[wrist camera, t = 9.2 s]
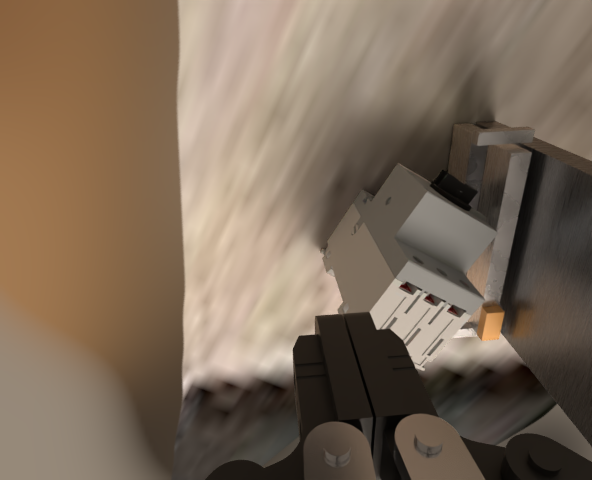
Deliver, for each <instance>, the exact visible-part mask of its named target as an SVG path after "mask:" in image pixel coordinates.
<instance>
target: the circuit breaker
mask: <svg viewBox="0 0 592 480" xmlns="http://www.w3.org/2000/svg"><path fill="white" fill-rule="evenodd" d="M477 193H478V191H477V190H475V189H474V188H472V187H471V186H469V185H467V184H466V183H465V184H464V183H462V182H460V181H459V180H458V179H456V178H455V177H454V176H453V175H451V174H449V173H448V172H446V171H444V170H442V172H441V173H440V174H439V176H438V177H437V178H436V180H435V181H434V182H432V183H431V182H429V181H428V180H427V179H425V178H423V177H421V176H420V175H418V174H416V173H415V172H413V171H411V170H410V169H408V168H406V167H405V166H403V165H401V164H400V163H398V164H397V165H396V166H395V168H394V169H393V171H392V172H391V174H390V175H389V177H388V178H387V179H386V181H385V182H384V184H383V185H382V187H381V188H380V190H379V191H378V193H377V194H376V195H375V196H374V195H372V194H370V193H368V192H366V191H365V190H363V189H362V190H361V191H360V193H359V194H358V196H357V197H356V199H355V200H354V202H353V203H352V205H351V206H350V208H349V209H348V211H347V212H346V214H345V215H344V217H343V218H342V220H341V221H340V223H339V224H338V226H337V227H336V229H335V230H334V232H333V233H332V235H331V236H330V238H329V239H328V241H327V244H328V247H327V248H326V250H325V249H323V248H322V250H321V251H320V252H321V253H322V254H324V257H323V258H322V259H323V262H324V265H325V269H326V272H327V273H328V274H330V275H332V276H334V277H335V278H336V281H337V284H338V287H339V290H340V293H341V296H342V300H343V303H342V304H341V306H340V307H339V309H338V313H339V314H342V315H343V314H346V313H359V312H370V314H371V316H372V319H373V321H374V324H375V326H376V329H377V330H379V329H391V330H392V331H393V332H394V333H395V334H396V335H398V336H399V337H400V338H401V339H402V340H403V341H404V344H405V346H406V348H407V350H408V352H409V354H410V358H411V359H412V361H413V363H414V365H415V367H416V368H418V369H420V370H423V371H424V370H425V367H424V366H423V365H424V364H425V363H426V362H427V360H428V361H430V362H432V360H433V359H434V358H435V357H436V356H437V355H438V354H439V352H440V351H441V350H442V349H443V348H444V347H445V346H446V344H447V343H448V342H449V341H450V340H451V339H452V338H453V336H454V335H455V334H456V333H457V332H458V331H459V330H460V328H461V327H462V326H463V325H464V324H465V323H466V322H467V320H468V319H469V318H470V317H471V316H472V315H473V314H474V312H475V311H476V310H477V309H478V308H479V307H480V306H481V304H482V303H483V302H484V301H485V299H484V297H483V296H482V295H481V294H480V293H479V291H478V290H477V289H476V288H475V287H474V285H473V284H472V283H471V282H470V281H469V279H468V278H467V277H466V276H465V273H466V272H467V271H468V270H469V269H470V267H471V266H472V265H473V264H474V262H475V261H476V260H477V259H478V258H479V256H480V255H481V254H482V253H483V251H484V250H485V249H486V248H487V247H488V245H489V244H490V243H491V242H492V240H493V239H494V238H495V237H496V236H497V234H498V232H497V231H496V230H495V229H494V228H493V227H492V226H491V225H490V224H488V223H487V217H486V216H485V215H484V214H482V213H480V212H479V211H477V210H475V209H474V208H472V207H471V206H470V205H469V203H470V202H471V201H472V199H473V198H474V197H475V196H476V194H477Z"/></svg>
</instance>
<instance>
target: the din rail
mask: <svg viewBox="0 0 592 480" xmlns="http://www.w3.org/2000/svg"><path fill="white" fill-rule="evenodd" d="M478 129H481V128H479V127H477V126H475V125H473V124H471V123H463V124H454V127H453V135H452V143H451V151H450V158H449V166H448V173H449V174H451V175H453V176H454V177H455V178H456V179H458V180H459V181H460V182H462V183H464V184H465V183H466V184H467V185H469V186H471V187H472V188H474V189H475V190H477V191H478V193H477V194H476V196H475V197H474V198H473V199H472V201H471V202H470V203H469V205H470V206H471V207H472V208H474V209H475V210H477V207H478V211H479V212H480V213H482V214H484V215H485V216H486V217H487V223H488V224H490V225H491V226H492V227H493V228H494V229H495V230H496V231H497V232H498V234H497V236H496V237H495V238H494V239H493V240H492V242H491V243H490V244H489V245H488V247H487V248H486V249H485V250H484V251H483V253H482V254H481V255H480V256H479V258H478V259H477V260H476V261H475V262H474V264H473V265H472V266H471V267H470V269H469V270H468V271H467V272H466V273H467V276H466V273H465V276H466V277H467V278H468V279H469V281H470V282H471V283H472V284H473V285H474V287H475V288H476V289H477V290H478V291H479V293H480V294H481V295H482V296H483V297H484V299H485V301H484V302H483V303H482V304H481V306H480V307H479V308H478V309H477V310H476V311H475V312H474V314H473V315H472V316H471V317H470V318H469V319H468V320H467V321H468V322H469V324H470V325H471V326H472V328H473V329H474V331H475V332H476V333H477V335H478V336H479V338H480V339H481V340H482V341H484V340H496V339H499V336H500V331H501V327H502V322H503V318H504V313H505V312H504V311H503V310H502V308H501V307H500V306H499V303H500V299H501V294H502V289H503V285H504V280H505V275H506V271H507V266H508V261H509V257H510V252H511V248H512V243H513V238H514V234H515V229H516V224H517V220H518V215H519V210H520V206H521V201H522V196H523V192H524V187H525V182H526V178H527V173H528V168H529V164H530V159H531V154H532V152H530V151H528V150H526V149H523V148H521V147H519V146H517V145H515V144H499V145H481V146H477V145H475V144H473V143H471V142H472V135H473V130H478ZM487 147H488V151H487ZM486 153H487V157H486ZM485 159H486V163H485ZM484 165H485V169H484ZM483 171H484V175H483ZM482 177H483V181H482ZM481 183H482V187H481ZM480 189H481V193H480ZM479 195H480V199H479ZM478 201H479V205H478Z"/></svg>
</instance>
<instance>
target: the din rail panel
mask: <svg viewBox="0 0 592 480" xmlns="http://www.w3.org/2000/svg"><path fill="white" fill-rule="evenodd" d="M475 126H477V127H479V128H481V129H478V130H473V135H472V142H471V143H473V144H475V145H477V146H481V145H499V144H515V145H517V146H519V147H521V148H523V149H526V150H528V151H530V152H532V154H531V159H530V164H529V168H528V173H527V178H526V182H525V187H524V192H523V196H522V201H521V206H520V210H519V215H518V220H517V224H516V229H515V234H514V238H513V243H512V248H511V252H510V257H509V261H508V266H507V271H506V275H505V280H504V285H503V289H502V294H501V299H500V303H499V306H500V307H501V308H502V310H503V311H504V312H505V313H504V318H503V322H502V327H501V331H500V332H501V333H502V334H503V336H504V337H505V338H506V339H507V341H508V342H509V343H510V344H511V346H512V347H513V348H514V349H515V351H516V352H517V353H518V355H519V356H520V357H521V358H522V360H523V361H524V362H525V363H526V365H527V366H528V367H529V368H530V370H531V371H532V372H533V373H534V375H535V376H536V377H537V378H538V380H539V381H540V382H541V383H542V385H543V386H544V387H545V388H546V390H547V391H548V392H549V394H550V395H551V396H552V397H553V399H554V400H555V401H556V402H557V404H558V405H559V406H560V407H561V409H562V410H563V411H564V412H565V414H566V415H567V416H568V417H569V419H570V420H571V421H572V422H573V424H574V425H575V426H576V427H577V428H578V430H579V431H580V432H581V434H582V435H583V436H584V437H585V439H586V440H587V441H588V443H589V444H590V445H591V446H592V161H590V160H587V159H585V158H583V157H580V156H578V155H575V154H573V153H571V152H568V151H566V150H563V149H561V148H559V147H556V146H554V145H551V144H549V143H547V142H544V141H542V140H539V139H537V138H535V137H533V136H534V132H535V129H532V128H529V127H515V128H511V127H508V126H506V125H503V124H501V123H499V122H496V121H492V122H476V124H475ZM487 151H488V147H487ZM486 157H487V153H486ZM485 163H486V159H485ZM484 169H485V165H484ZM483 175H484V171H483ZM482 181H483V177H482ZM481 187H482V183H481ZM480 193H481V189H480ZM479 199H480V195H479ZM478 205H479V201H478ZM477 211H478V207H477ZM466 276H467V273H466ZM474 336H478V335H477V333H476V332H475V331H474V329H473V328H472V326H471V325H470V324H469V322H466V323H465V324H464V325H463V326H462V327H461V328H460V330H459V331H458V332H457V333H456V334H455V335H454V336H453V338H462V337H474Z"/></svg>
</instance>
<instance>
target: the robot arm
mask: <svg viewBox="0 0 592 480" xmlns="http://www.w3.org/2000/svg"><path fill="white" fill-rule="evenodd" d="M293 368H294V392H295V401H296V409H297V418H298V427H299V436H300V442H299V444H298V446H297V447H296V449H295V450H294V451H293V452H292V453H291V454H290V455H289V456H288V457H286V458H285V459H283V460H281V461H279V462H277V463H275V464H273V465H270V466H268V467H266V468H263V467H261V466H260V465H259V464H257V463H255V462H252V461H248V460H235V461H230V462H228V463H225V464H223V465H221V466H219V467H218V468H217V469H215V470H214V471H213V472H212V473H211V474H210V475H209V476H208V477H207V478H206V480H592V462H591V461H589V460H587V459H586V458H584V457H582V456H580V455H579V454H577V453H575V452H573V451H572V450H570V449H568V448H566V447H565V446H563V445H561V444H559V443H558V442H556V441H554V440H552V439H550V438H547V437H545V436H541V435H538V434H520V435H517V436H515V437H513V438H512V439H511V440H510V441H509V442H508V444H507V446H506V448H505V447H500V446H495V445H489V444H484V443H479V442H475V441H471V440H468V439H466V438H463V437H461V436H459V434H458V433H457V431H456V430H455V429H454V428H453V427H452V426H451V425H450V424H449V423H447V422H446V421H444V420H443V419H441V418H439V416H438V414H437V412H436V410H435V408H434V406H433V404H432V402H431V399H430V397H429V395H428V393H427V391H426V389H425V387H424V384H423V382H422V380H421V378H420V376H419V374H418V371H417V370H416V369H415V365H414V363H413V361H412V359H411V358H410V354H409V352H408V350H407V348H406V346H405V344H404V341H403V340H402V339H401V338H400V337H399V336H398V335H396V334H395V333H394V332H393V331H392V330H391V329H379V330H377V329H376V326H375V324H374V321H373V319H372V316H371V314H370V312H359V313H346V314H343V315H342V314H334V315H321V316H315V335H304V336H299V337H298V339H297V341H296V343H295V346H294V348H293Z"/></svg>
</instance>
